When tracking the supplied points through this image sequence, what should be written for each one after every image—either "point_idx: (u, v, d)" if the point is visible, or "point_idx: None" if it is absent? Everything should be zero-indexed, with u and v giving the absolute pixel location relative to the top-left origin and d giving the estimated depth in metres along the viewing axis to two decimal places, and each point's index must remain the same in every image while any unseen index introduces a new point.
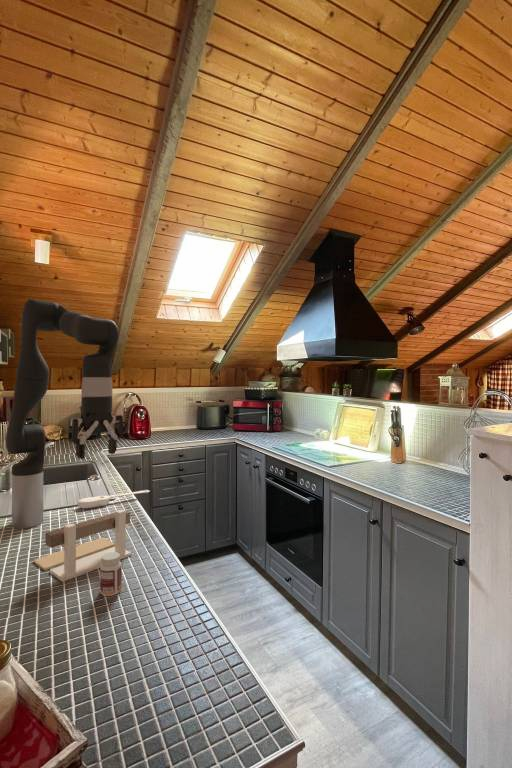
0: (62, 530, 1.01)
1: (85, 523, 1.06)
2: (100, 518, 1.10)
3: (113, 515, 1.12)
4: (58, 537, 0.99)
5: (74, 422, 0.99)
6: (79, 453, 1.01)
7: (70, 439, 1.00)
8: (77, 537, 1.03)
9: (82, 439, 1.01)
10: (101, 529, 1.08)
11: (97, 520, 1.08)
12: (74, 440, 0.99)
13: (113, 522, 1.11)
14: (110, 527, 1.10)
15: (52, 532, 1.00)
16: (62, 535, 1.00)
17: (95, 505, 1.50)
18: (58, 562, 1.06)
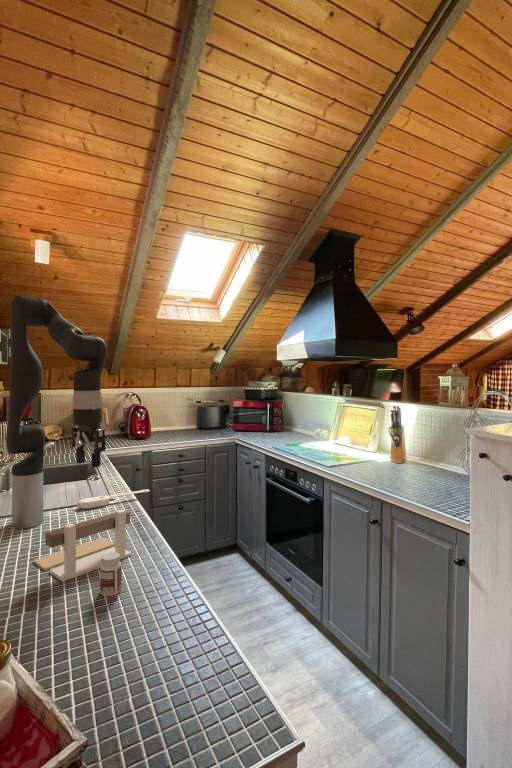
0: (62, 530, 1.01)
1: (85, 523, 1.06)
2: (100, 518, 1.10)
3: (113, 515, 1.12)
4: (58, 537, 0.99)
5: (104, 432, 1.09)
6: None
7: (101, 449, 1.07)
8: (77, 537, 1.03)
9: None
10: (101, 529, 1.08)
11: (97, 520, 1.08)
12: None
13: (113, 522, 1.11)
14: (110, 527, 1.10)
15: (52, 532, 1.00)
16: (62, 535, 1.00)
17: (95, 505, 1.50)
18: (58, 562, 1.06)
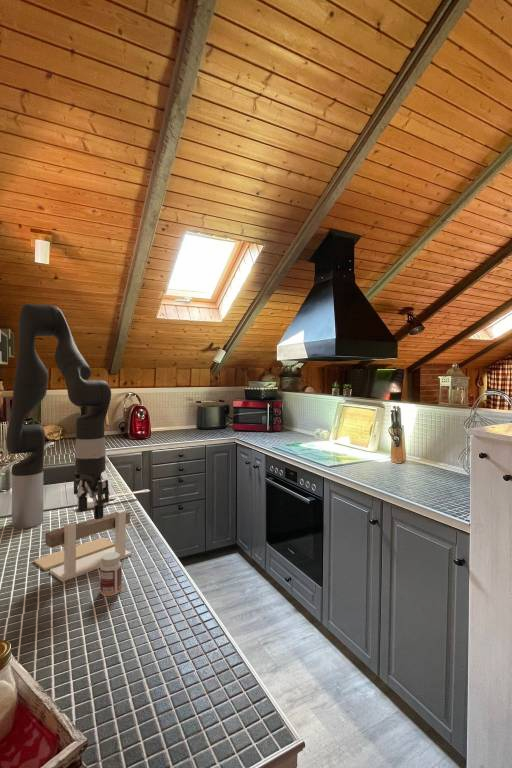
0: (62, 530, 1.01)
1: (85, 523, 1.06)
2: None
3: (113, 515, 1.12)
4: (58, 537, 0.99)
5: (107, 482, 1.04)
6: None
7: (104, 501, 1.02)
8: (77, 537, 1.03)
9: None
10: (101, 529, 1.08)
11: (97, 520, 1.08)
12: None
13: (113, 522, 1.11)
14: (110, 527, 1.10)
15: (52, 532, 1.00)
16: (62, 535, 1.00)
17: None
18: (58, 562, 1.06)
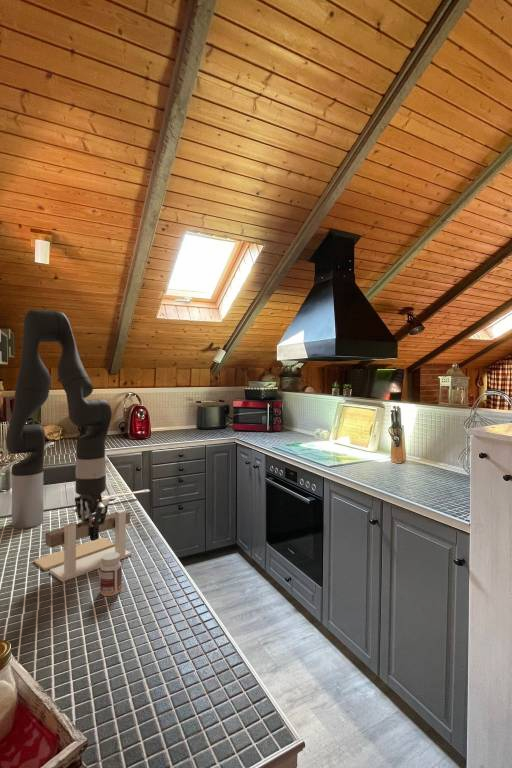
0: (62, 530, 1.01)
1: (85, 523, 1.06)
2: None
3: (113, 515, 1.12)
4: (58, 537, 0.99)
5: None
6: None
7: (99, 523, 1.04)
8: (77, 537, 1.03)
9: None
10: (101, 529, 1.08)
11: None
12: None
13: (113, 522, 1.11)
14: (110, 527, 1.10)
15: (52, 532, 1.00)
16: (62, 535, 1.00)
17: None
18: (58, 562, 1.06)
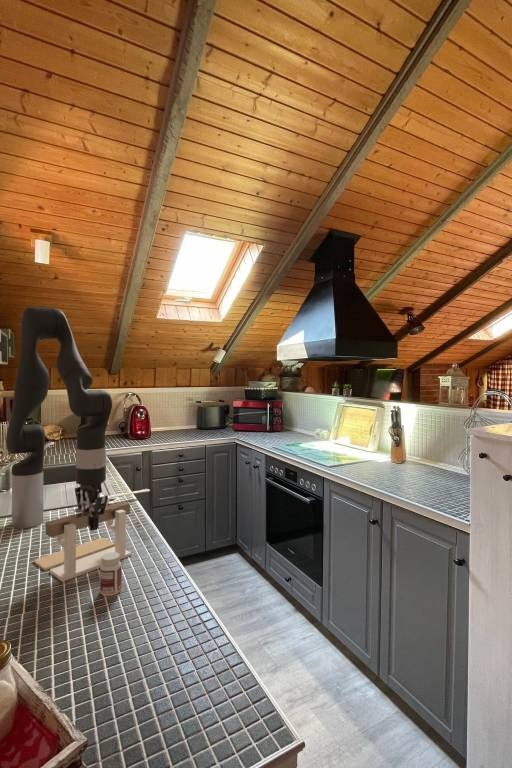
0: (62, 520, 1.01)
1: (85, 513, 1.06)
2: None
3: (113, 506, 1.12)
4: (58, 526, 0.99)
5: None
6: None
7: (99, 513, 1.04)
8: (77, 527, 1.03)
9: None
10: (101, 519, 1.08)
11: None
12: None
13: (113, 512, 1.11)
14: (110, 518, 1.10)
15: (52, 522, 1.00)
16: (62, 525, 1.00)
17: None
18: (58, 562, 1.06)
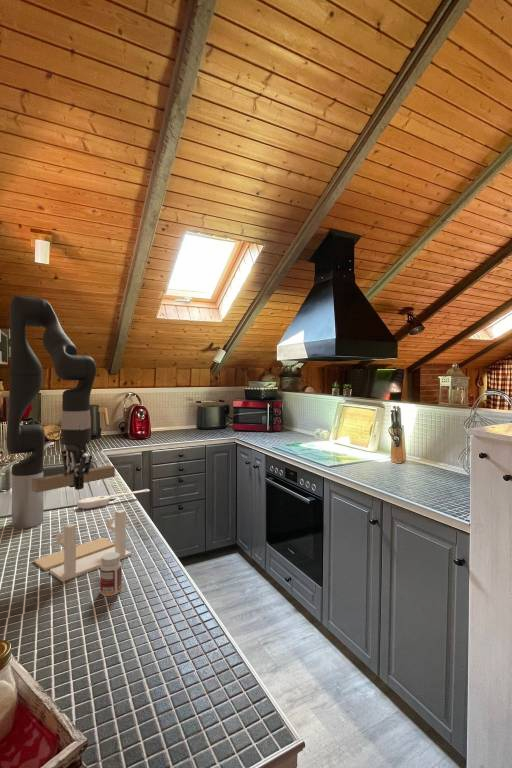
0: (48, 477, 1.06)
1: (71, 473, 1.11)
2: None
3: (98, 468, 1.17)
4: (43, 483, 1.04)
5: (91, 458, 1.09)
6: None
7: (84, 472, 1.09)
8: (62, 485, 1.08)
9: None
10: (86, 479, 1.13)
11: None
12: None
13: (98, 474, 1.16)
14: (95, 479, 1.15)
15: (38, 479, 1.05)
16: (48, 482, 1.05)
17: (95, 505, 1.50)
18: (58, 562, 1.06)
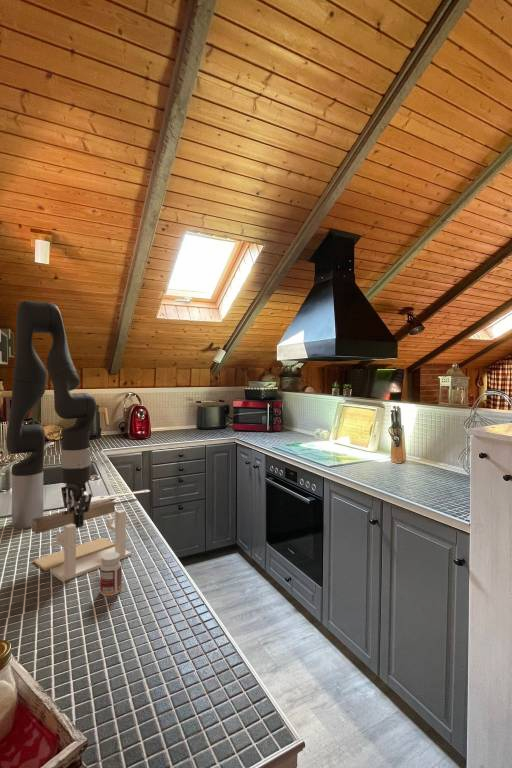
0: (48, 517, 1.06)
1: (71, 511, 1.11)
2: None
3: (98, 504, 1.17)
4: (43, 523, 1.04)
5: (91, 497, 1.09)
6: None
7: (83, 510, 1.09)
8: (62, 524, 1.08)
9: None
10: (86, 517, 1.13)
11: None
12: None
13: (98, 510, 1.16)
14: (95, 515, 1.15)
15: (38, 519, 1.05)
16: (47, 522, 1.05)
17: None
18: (58, 562, 1.06)
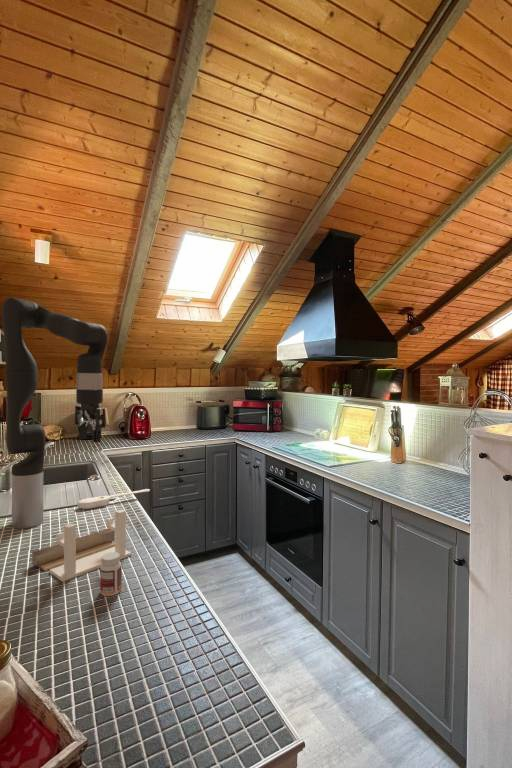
0: (48, 550, 1.07)
1: None
2: (85, 537, 1.15)
3: (98, 533, 1.18)
4: (44, 556, 1.05)
5: (104, 410, 1.20)
6: None
7: (101, 426, 1.19)
8: (62, 556, 1.09)
9: None
10: (86, 547, 1.14)
11: (82, 539, 1.14)
12: None
13: (98, 540, 1.16)
14: (95, 545, 1.16)
15: (38, 552, 1.05)
16: (48, 554, 1.06)
17: (95, 505, 1.51)
18: (58, 562, 1.06)
